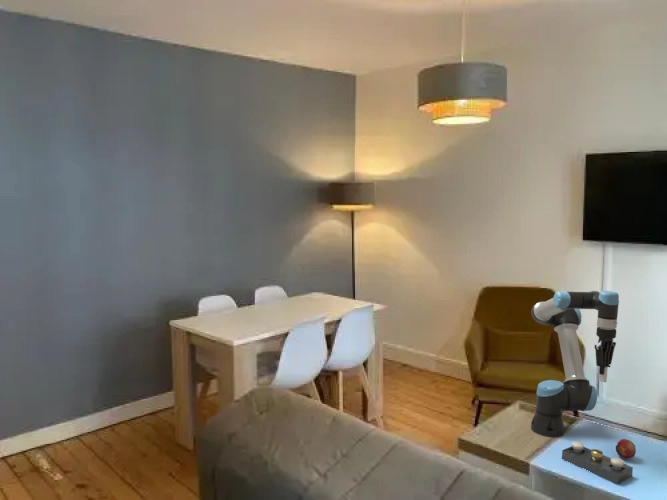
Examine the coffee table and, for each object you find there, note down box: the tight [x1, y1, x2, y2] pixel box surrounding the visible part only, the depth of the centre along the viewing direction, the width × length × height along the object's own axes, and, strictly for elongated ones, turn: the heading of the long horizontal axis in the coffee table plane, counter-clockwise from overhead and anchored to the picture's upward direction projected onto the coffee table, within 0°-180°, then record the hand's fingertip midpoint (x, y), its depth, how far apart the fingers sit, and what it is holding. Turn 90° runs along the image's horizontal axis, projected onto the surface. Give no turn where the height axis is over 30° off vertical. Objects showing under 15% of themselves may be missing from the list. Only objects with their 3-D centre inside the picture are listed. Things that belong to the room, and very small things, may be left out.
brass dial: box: [590, 448, 604, 461], centre depth 226 cm, size 4×4×3 cm
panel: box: [561, 445, 634, 485], centre depth 226 cm, size 24×11×4 cm, turn 34°
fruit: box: [615, 438, 637, 460], centre depth 235 cm, size 8×8×8 cm
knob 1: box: [571, 441, 585, 454], centre depth 233 cm, size 5×5×6 cm
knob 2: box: [610, 457, 625, 471], centre depth 219 cm, size 5×5×6 cm
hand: (602, 381), depth 236 cm, fingers closed
